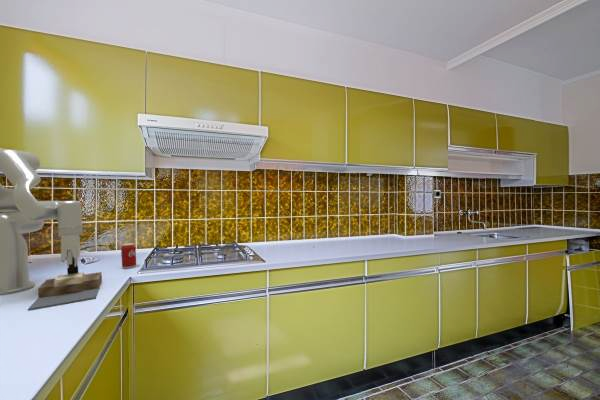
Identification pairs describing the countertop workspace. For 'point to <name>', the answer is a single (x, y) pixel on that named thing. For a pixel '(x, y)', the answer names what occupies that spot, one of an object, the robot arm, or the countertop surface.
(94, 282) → the walnut deck
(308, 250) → the countertop surface
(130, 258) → the beverage can
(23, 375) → the countertop surface
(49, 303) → the rubber mat
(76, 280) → the beech tile
